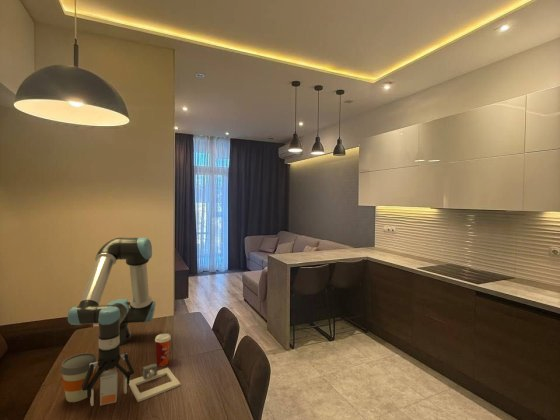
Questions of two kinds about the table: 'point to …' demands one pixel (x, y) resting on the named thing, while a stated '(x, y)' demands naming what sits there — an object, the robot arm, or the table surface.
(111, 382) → the skincare box
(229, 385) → the table surface
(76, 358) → the reusable coffee cup
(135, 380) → the socket board
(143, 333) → the table surface
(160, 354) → the paper cup
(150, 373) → the silver metal knob
